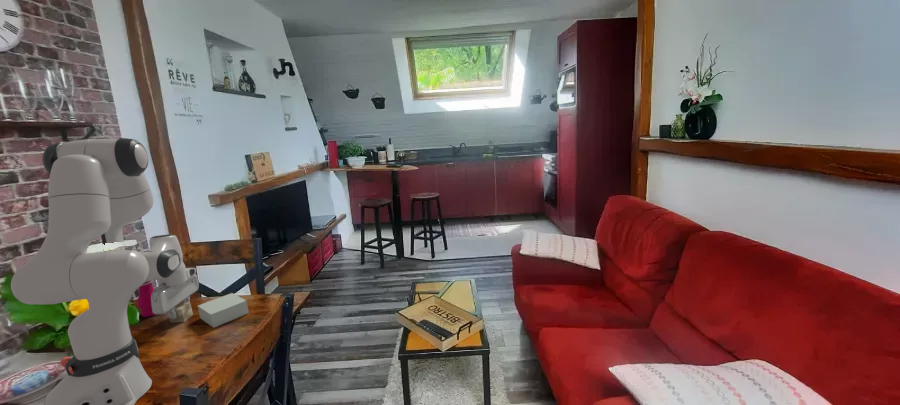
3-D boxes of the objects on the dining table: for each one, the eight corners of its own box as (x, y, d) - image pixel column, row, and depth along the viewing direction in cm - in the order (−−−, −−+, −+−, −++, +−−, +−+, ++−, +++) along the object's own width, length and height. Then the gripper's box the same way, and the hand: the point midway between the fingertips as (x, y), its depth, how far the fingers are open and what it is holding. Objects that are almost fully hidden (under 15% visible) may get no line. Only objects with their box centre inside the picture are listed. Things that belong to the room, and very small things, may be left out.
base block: (213, 327, 133) (210, 314, 132) (200, 318, 141) (197, 305, 140) (248, 313, 142) (246, 300, 141) (234, 304, 150) (232, 292, 149)
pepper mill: (154, 317, 144) (141, 266, 140) (135, 318, 144) (122, 267, 140) (168, 307, 151) (156, 259, 147) (150, 308, 151) (138, 260, 147)
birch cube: (184, 321, 139) (181, 308, 138) (170, 322, 139) (167, 309, 138) (193, 314, 144) (190, 302, 143) (179, 315, 144) (176, 303, 143)
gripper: (160, 290, 128) (169, 327, 131) (198, 266, 148) (205, 299, 151) (141, 291, 128) (151, 329, 131) (181, 267, 148) (189, 300, 151)
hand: (180, 313), depth 141 cm, fingers closed on birch cube, 5 cm apart
